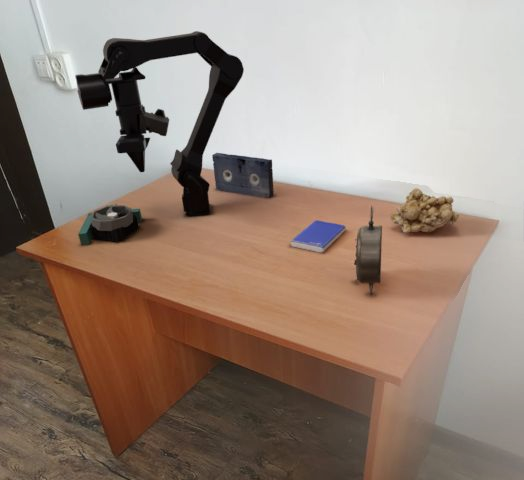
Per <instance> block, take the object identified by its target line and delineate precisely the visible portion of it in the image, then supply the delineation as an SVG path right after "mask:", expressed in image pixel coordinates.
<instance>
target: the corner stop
mask: <svg viewBox="0 0 524 480" xmlns="http://www.w3.org/2000/svg"><path fill="white" fill-rule="evenodd" d="M131 211H132V215H136V217H137V221H138V223H142V222H143V217H142V212H141V208H131ZM92 213H93V212H88V213H87V215H86V217H85V219H84V221H83V223H82V225H81V227H80V229H79V231H78V233H77V235H78V239H79V242H80V245H81V246H89V245H90V244H91V242H92V240H93V235H92V232H91V229H90V225H91V224H92V222H91V218H90V216H91V214H92Z"/></svg>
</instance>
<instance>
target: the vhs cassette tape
mask: <svg viewBox="0 0 524 480" xmlns="http://www.w3.org/2000/svg"><path fill="white" fill-rule="evenodd" d="M211 158H212V162H213V163H212V166H213V175H214V182H215V183H214V184H215V189H216V191H222V192H223V191H224V192H229V193H233V194H234V193H236V194H242V195H247V196H254V197H260V198H266V199H267V198H271V197H272V196H274V175H273V170H274V169H273V159H268V158H263V157H262V158H261V157H252V156H247V155H237V154H229V153H222V152H215V153H213V154H212V157H211Z"/></svg>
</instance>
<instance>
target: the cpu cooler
mask: <svg viewBox="0 0 524 480" xmlns="http://www.w3.org/2000/svg"><path fill="white" fill-rule="evenodd" d="M131 209H132V207H129V206H127V205H122V204H120V205H119V204H117V203H116V204H108V205H105V206H103V207H101V208H98V209H95V210H94V211H93V212H91V213H92V214H91V216H90V218H91V222H92V224H91V225H90V229H91V232H92V235H93V238H92V240H93V239H95V240H100V241H101V240H102V241H109V242H116V243H118V242H120V241H125V240H126V239H127V238H128V237H130V236H131V235H132V234H134V233H135V232H136V231H138V230H139V229H140V226H139V222H138V221H137V217H136V215H132V211H131Z"/></svg>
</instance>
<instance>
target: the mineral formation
mask: <svg viewBox="0 0 524 480" xmlns="http://www.w3.org/2000/svg"><path fill="white" fill-rule="evenodd" d="M453 203H454V197H452V196H444V195H443V196H439V197H436V196H435V195H432V196H431V195H428V194H427V193H426V194H425V193H423V191H422V190H421V189H419V188H417V187H415V188H413V189H412V190H411V191H410V192H409V193H408V195H406V197H405V202H404V204H403V205H398V206H397V207H396V208H395V210H396V211H397V212H396V213H391V214H390V215H389V216H388V217H389V220H391V222H392V223H393V224H394V225H399V226H401V230H402V232H403V233H404V234H408V233H417V232H424V233H432V232H434V231H435V230H436V229H439V228H442V227H443V226H445V224H448V225H449V226H451V225H452V224H454V223H457V222H458V219H459V217H460V214H459V213H458V212H455V211H454V210H453Z"/></svg>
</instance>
